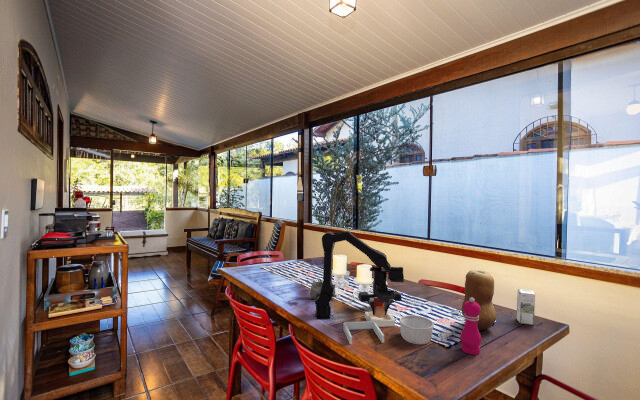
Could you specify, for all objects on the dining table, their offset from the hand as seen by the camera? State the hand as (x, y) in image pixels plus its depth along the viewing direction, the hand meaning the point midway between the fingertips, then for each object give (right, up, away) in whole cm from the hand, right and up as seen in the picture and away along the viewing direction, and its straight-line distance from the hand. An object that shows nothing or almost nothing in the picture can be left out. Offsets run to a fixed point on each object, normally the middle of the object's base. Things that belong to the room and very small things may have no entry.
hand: (379, 315), depth 144 cm
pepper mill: (+29, -4, -25) cm, 39 cm away
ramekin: (+12, -4, -16) cm, 20 cm away
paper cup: (+3, -3, +17) cm, 17 cm away
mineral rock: (-26, -2, +29) cm, 39 cm away
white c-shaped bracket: (-9, -3, -14) cm, 17 cm away
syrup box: (+67, -4, +2) cm, 67 cm away
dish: (0, -3, 0) cm, 3 cm away
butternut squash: (+42, -4, -5) cm, 42 cm away
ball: (0, -1, 0) cm, 1 cm away
